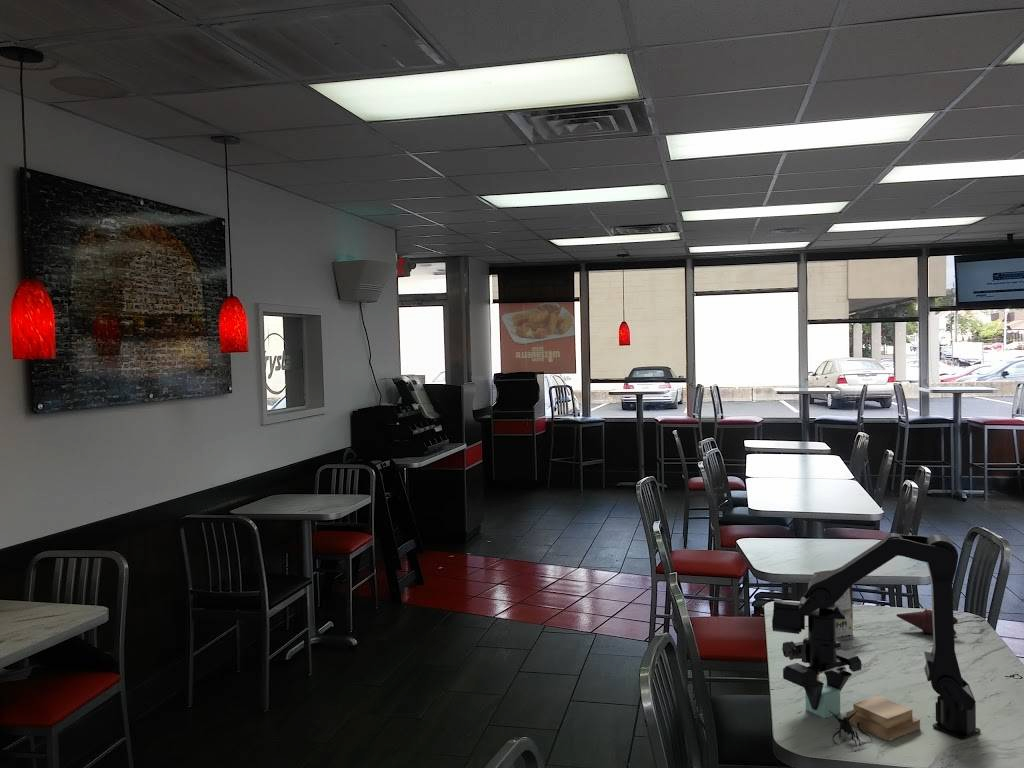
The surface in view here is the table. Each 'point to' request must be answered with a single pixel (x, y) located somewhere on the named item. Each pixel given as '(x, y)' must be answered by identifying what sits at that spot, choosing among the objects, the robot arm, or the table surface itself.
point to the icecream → (921, 620)
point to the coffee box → (846, 605)
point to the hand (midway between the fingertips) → (822, 706)
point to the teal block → (826, 702)
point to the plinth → (884, 730)
